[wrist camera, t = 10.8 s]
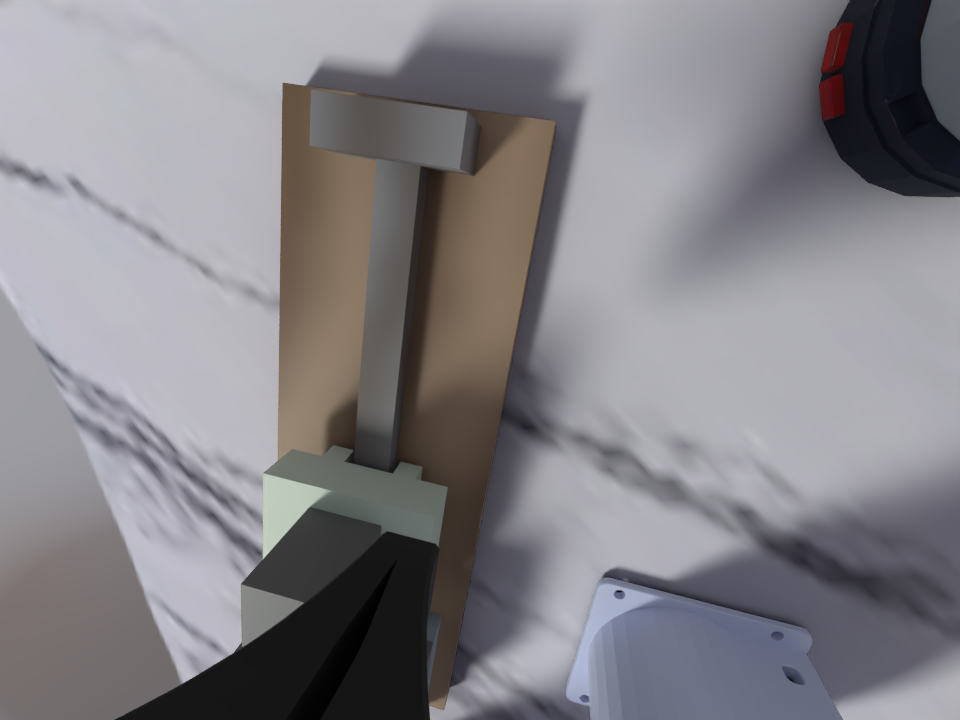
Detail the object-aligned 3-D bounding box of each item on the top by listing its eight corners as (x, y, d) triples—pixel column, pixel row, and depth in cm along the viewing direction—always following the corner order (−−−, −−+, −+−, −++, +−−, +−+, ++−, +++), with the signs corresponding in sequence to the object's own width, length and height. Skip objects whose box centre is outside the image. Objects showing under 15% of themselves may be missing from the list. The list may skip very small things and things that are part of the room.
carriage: (453, 474, 20) (397, 602, 13) (436, 581, 22) (380, 740, 15) (304, 438, 20) (181, 542, 14) (300, 544, 22) (191, 679, 16)
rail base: (556, 127, 16) (551, 72, 10) (449, 688, 26) (413, 835, 20) (300, 91, 17) (159, 23, 11) (287, 640, 27) (205, 764, 21)
